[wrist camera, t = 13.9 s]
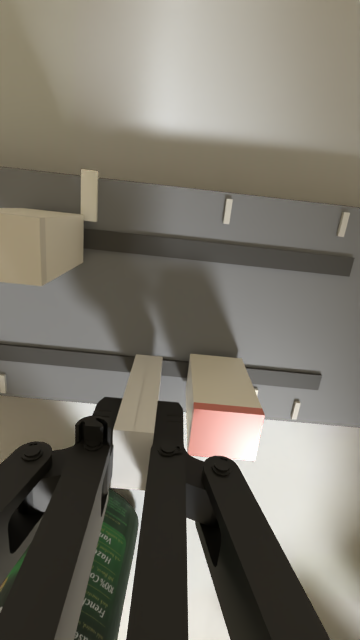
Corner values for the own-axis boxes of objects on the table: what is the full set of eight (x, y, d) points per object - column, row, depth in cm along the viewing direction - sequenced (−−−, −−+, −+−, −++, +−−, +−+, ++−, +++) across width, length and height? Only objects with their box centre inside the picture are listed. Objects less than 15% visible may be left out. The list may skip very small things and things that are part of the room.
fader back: (241, 358, 19) (265, 415, 14) (234, 394, 20) (254, 460, 15) (190, 353, 19) (194, 408, 14) (185, 389, 20) (187, 455, 15)
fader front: (83, 214, 16) (39, 218, 11) (83, 262, 17) (41, 286, 12) (23, 207, 16) (-50, 208, 11) (25, 256, 17) (-42, 277, 12)
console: (406, 210, 20) (447, 211, 17) (345, 405, 24) (369, 434, 21) (-74, 155, 19) (-122, 145, 16) (-46, 369, 23) (-80, 394, 20)
